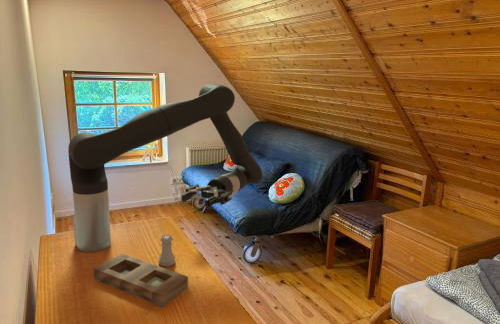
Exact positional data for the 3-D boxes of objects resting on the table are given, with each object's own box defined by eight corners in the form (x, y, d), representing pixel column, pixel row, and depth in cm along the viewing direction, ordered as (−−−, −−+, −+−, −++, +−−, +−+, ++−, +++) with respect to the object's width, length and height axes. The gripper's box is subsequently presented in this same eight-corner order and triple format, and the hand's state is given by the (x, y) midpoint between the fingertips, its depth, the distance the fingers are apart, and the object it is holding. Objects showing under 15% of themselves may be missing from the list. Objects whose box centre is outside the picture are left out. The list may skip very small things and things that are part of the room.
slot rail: (94, 279, 91) (93, 268, 90) (122, 263, 99) (121, 253, 98) (163, 307, 81) (162, 295, 80) (187, 287, 89) (187, 276, 88)
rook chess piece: (171, 268, 97) (170, 240, 95) (155, 266, 98) (155, 238, 96) (177, 260, 101) (177, 233, 100) (162, 258, 102) (162, 231, 100)
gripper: (206, 172, 123) (174, 184, 109) (243, 179, 116) (214, 193, 102) (206, 193, 125) (175, 208, 111) (242, 201, 118) (214, 218, 104)
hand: (194, 201), depth 107 cm, fingers open, 8 cm apart
